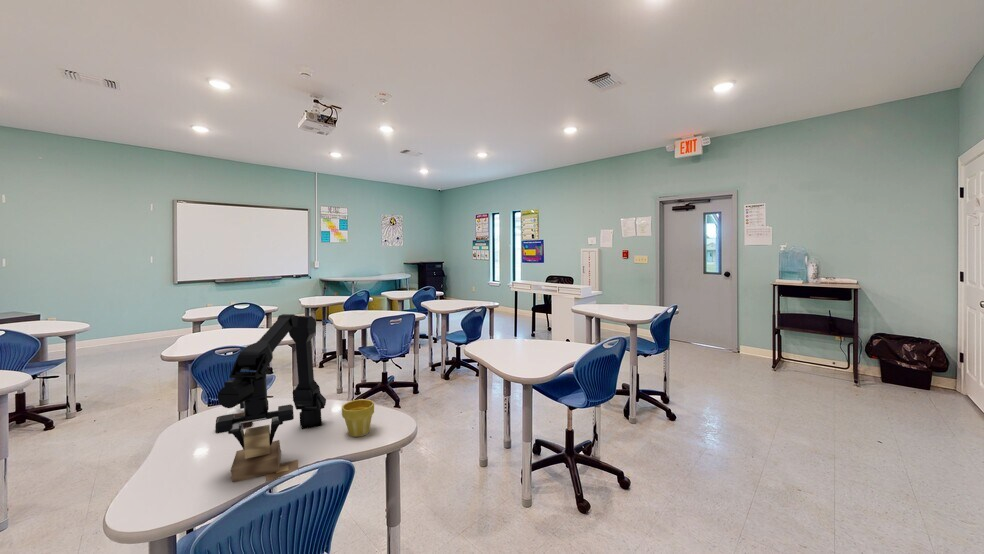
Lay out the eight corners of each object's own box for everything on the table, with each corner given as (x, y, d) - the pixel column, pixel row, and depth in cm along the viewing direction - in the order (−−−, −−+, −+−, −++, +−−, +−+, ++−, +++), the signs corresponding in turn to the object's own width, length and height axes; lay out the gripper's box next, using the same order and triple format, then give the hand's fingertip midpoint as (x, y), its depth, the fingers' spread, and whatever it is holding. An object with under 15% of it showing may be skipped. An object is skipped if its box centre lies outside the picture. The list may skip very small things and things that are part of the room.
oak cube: (270, 444, 118) (269, 424, 117) (269, 453, 112) (268, 433, 112) (246, 449, 115) (245, 428, 114) (244, 458, 110) (243, 437, 109)
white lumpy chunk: (262, 392, 149) (226, 406, 140) (265, 414, 150) (230, 428, 141) (255, 389, 153) (219, 401, 143) (258, 410, 154) (223, 424, 145)
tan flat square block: (281, 452, 121) (279, 439, 121) (279, 470, 111) (277, 457, 111) (238, 463, 117) (236, 451, 116) (233, 484, 107) (230, 470, 106)
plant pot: (347, 426, 141) (346, 399, 140) (377, 425, 142) (376, 398, 141) (338, 440, 130) (337, 411, 130) (371, 439, 131) (370, 410, 131)
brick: (216, 433, 135) (215, 420, 135) (217, 429, 139) (216, 416, 139) (252, 427, 141) (251, 414, 140) (252, 422, 144) (252, 410, 144)
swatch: (297, 461, 118) (297, 458, 118) (298, 475, 111) (298, 472, 110) (266, 468, 114) (266, 465, 114) (265, 483, 107) (265, 480, 107)
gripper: (291, 380, 124) (294, 428, 125) (219, 390, 115) (222, 442, 116) (292, 391, 114) (294, 444, 115) (213, 403, 105) (216, 460, 107)
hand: (258, 447), depth 114 cm, fingers closed on oak cube, 6 cm apart
